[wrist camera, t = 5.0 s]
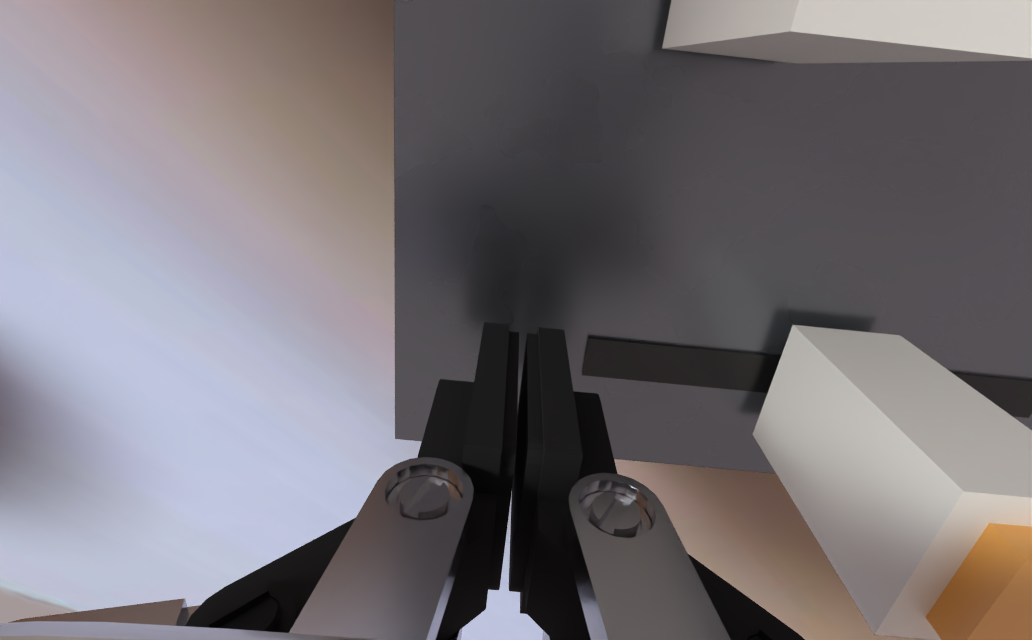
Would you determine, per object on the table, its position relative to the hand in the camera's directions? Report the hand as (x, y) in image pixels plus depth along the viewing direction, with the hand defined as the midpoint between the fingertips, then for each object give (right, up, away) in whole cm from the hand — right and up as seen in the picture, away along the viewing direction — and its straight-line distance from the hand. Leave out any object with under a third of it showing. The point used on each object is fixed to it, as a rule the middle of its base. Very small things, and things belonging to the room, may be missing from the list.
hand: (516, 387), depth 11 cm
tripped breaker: (+7, 0, +1) cm, 7 cm away
